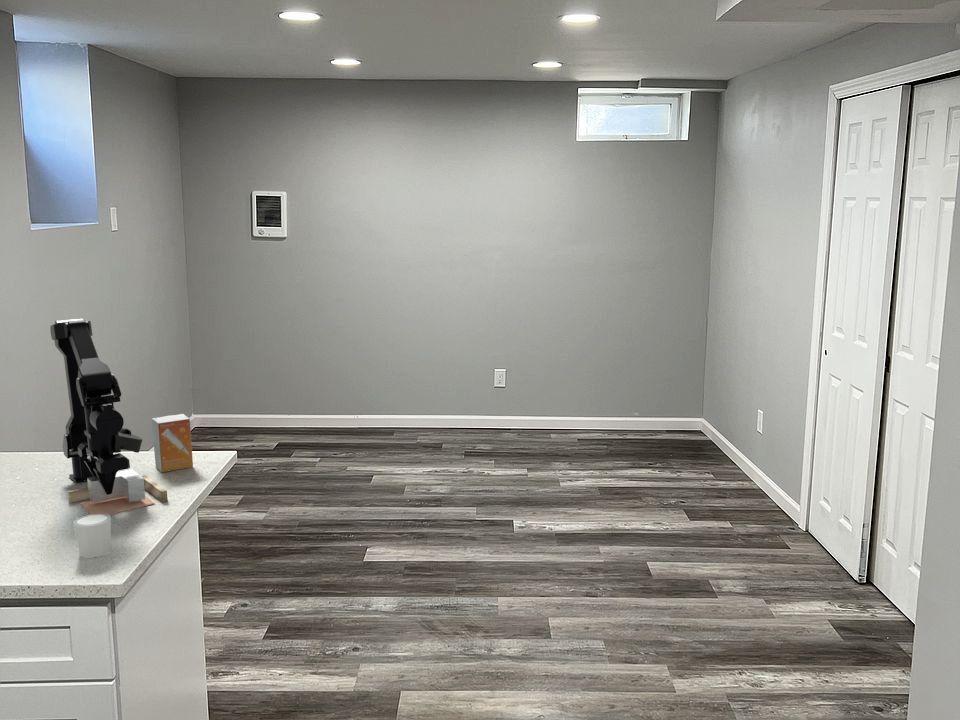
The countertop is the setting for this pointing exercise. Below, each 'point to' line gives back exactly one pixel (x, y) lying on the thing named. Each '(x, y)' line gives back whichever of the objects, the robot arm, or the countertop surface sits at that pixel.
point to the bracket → (118, 487)
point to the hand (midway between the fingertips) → (106, 491)
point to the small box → (172, 442)
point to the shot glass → (93, 535)
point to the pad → (114, 505)
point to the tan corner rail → (148, 485)
